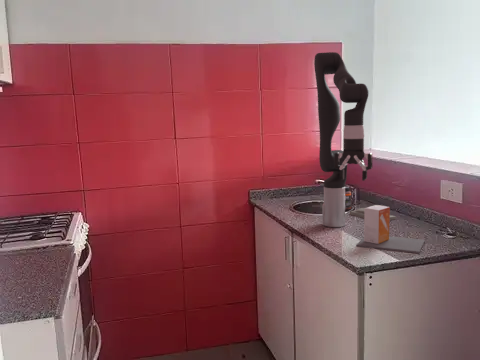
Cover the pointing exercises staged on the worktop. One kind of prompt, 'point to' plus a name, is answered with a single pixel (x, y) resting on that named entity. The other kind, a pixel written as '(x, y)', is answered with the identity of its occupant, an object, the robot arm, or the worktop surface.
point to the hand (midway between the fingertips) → (353, 179)
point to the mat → (396, 244)
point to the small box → (376, 224)
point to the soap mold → (361, 213)
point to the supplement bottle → (347, 198)
